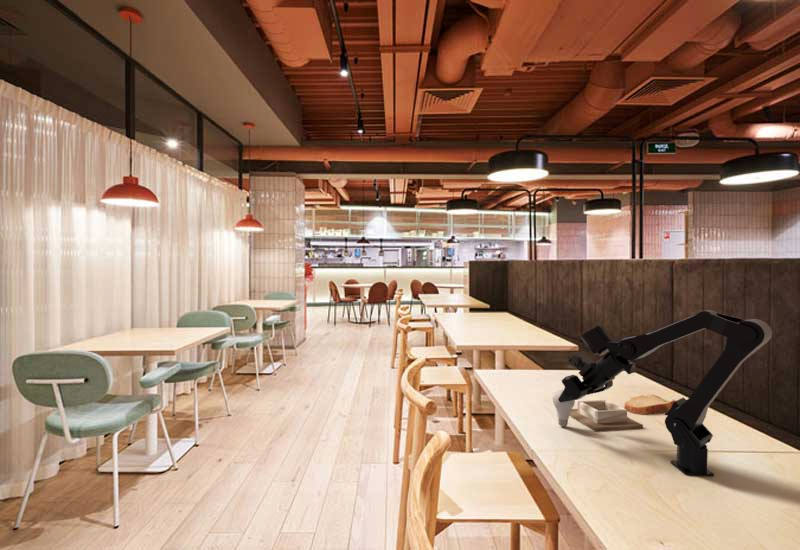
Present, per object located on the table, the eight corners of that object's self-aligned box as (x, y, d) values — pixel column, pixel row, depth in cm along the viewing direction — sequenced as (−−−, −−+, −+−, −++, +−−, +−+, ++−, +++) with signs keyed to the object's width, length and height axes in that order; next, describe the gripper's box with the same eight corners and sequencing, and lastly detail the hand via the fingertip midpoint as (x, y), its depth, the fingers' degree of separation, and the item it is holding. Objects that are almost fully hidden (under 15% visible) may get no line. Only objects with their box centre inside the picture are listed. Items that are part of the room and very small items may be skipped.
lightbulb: (575, 431, 125) (576, 393, 124) (553, 429, 126) (554, 392, 126) (571, 424, 131) (572, 388, 130) (550, 422, 132) (551, 386, 132)
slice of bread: (627, 414, 141) (627, 403, 141) (618, 398, 158) (618, 388, 158) (690, 421, 135) (691, 409, 135) (674, 404, 152) (674, 393, 152)
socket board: (642, 428, 128) (643, 413, 128) (594, 431, 125) (594, 415, 125) (607, 410, 144) (607, 396, 144) (563, 412, 141) (564, 398, 141)
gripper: (603, 341, 128) (568, 370, 137) (569, 348, 116) (533, 379, 125) (630, 373, 122) (591, 401, 131) (596, 383, 110) (556, 413, 119)
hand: (568, 398), depth 127 cm, fingers open, 9 cm apart
